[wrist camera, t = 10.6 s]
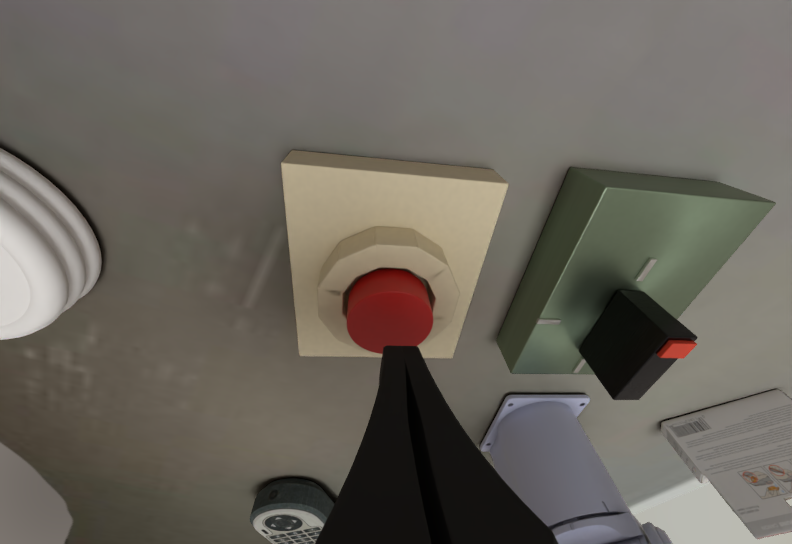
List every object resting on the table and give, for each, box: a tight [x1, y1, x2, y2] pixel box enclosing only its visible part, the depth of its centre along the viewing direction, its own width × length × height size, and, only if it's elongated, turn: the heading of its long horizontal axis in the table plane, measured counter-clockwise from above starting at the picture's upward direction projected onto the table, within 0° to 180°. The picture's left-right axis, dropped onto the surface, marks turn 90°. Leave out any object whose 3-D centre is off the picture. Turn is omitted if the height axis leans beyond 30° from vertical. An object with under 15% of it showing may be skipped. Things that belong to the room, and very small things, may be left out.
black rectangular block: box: [579, 290, 697, 400], centre depth 17 cm, size 5×2×4 cm, turn 174°
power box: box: [281, 150, 509, 358], centre depth 17 cm, size 12×10×4 cm
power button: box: [347, 269, 433, 354], centre depth 15 cm, size 4×4×2 cm
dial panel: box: [496, 167, 776, 374], centre depth 19 cm, size 13×9×3 cm
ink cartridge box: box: [660, 390, 792, 539], centre depth 28 cm, size 2×11×10 cm, turn 116°
